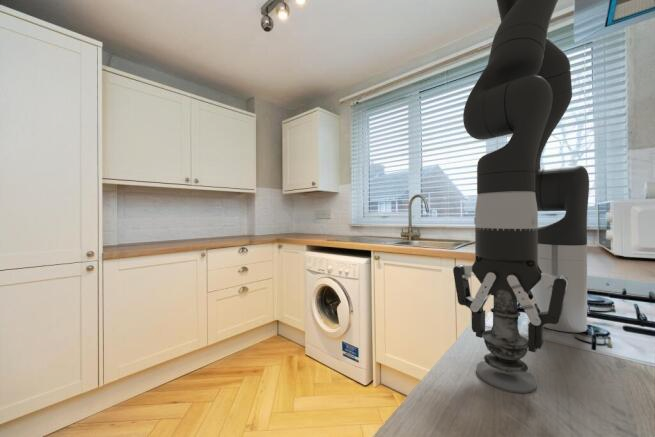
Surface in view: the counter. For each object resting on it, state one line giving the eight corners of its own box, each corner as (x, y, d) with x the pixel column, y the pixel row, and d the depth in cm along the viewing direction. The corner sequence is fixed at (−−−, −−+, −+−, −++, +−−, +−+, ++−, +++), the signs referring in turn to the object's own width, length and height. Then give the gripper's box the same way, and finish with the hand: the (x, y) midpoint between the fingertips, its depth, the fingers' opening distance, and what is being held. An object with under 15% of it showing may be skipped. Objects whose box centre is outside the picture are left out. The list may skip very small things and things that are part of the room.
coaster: (484, 359, 45) (484, 355, 45) (540, 377, 40) (540, 372, 40) (469, 377, 40) (469, 373, 40) (530, 400, 35) (530, 396, 35)
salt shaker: (539, 376, 37) (539, 285, 36) (490, 372, 38) (490, 283, 38) (518, 355, 42) (518, 276, 42) (476, 351, 43) (476, 274, 43)
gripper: (573, 225, 37) (573, 350, 38) (461, 223, 48) (462, 322, 48) (568, 227, 32) (568, 372, 32) (443, 225, 42) (444, 335, 42)
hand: (505, 342), depth 40 cm, fingers closed on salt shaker, 6 cm apart
